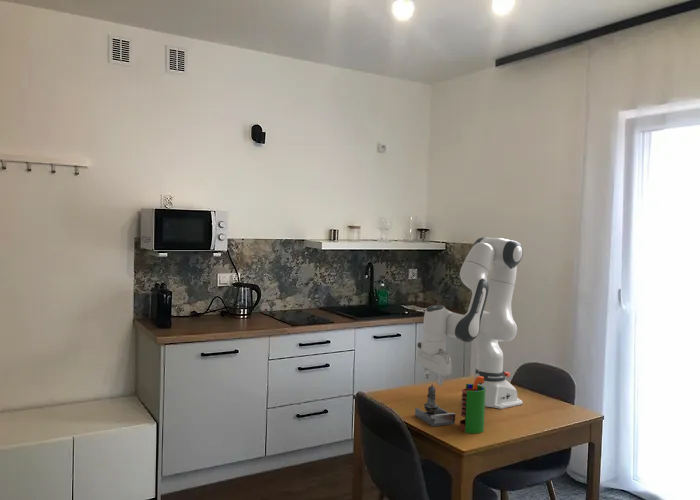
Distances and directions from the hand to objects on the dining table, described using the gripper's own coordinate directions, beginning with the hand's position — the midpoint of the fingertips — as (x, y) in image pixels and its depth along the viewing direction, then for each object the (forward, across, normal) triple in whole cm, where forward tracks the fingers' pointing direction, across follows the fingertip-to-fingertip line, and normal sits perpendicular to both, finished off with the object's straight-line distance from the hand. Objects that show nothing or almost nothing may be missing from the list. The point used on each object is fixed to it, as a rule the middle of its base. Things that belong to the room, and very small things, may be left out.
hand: (433, 381), depth 228 cm
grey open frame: (+14, -3, +1) cm, 15 cm away
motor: (+15, -16, -7) cm, 23 cm away
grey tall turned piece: (+13, 0, +1) cm, 13 cm away
